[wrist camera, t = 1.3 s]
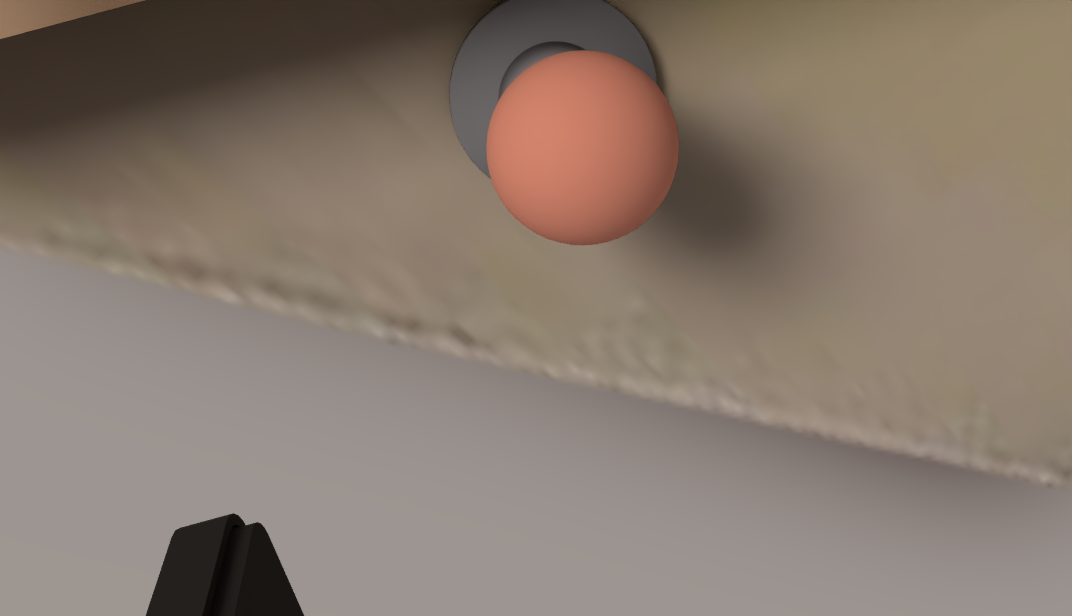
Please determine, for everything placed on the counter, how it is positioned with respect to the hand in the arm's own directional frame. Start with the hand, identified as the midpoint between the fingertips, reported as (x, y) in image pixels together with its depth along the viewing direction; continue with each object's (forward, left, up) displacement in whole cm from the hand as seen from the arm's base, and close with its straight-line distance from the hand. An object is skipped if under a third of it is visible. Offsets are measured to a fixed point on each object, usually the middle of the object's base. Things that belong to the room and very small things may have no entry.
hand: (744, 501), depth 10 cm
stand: (0, 0, -17) cm, 17 cm away
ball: (0, 0, -12) cm, 12 cm away
